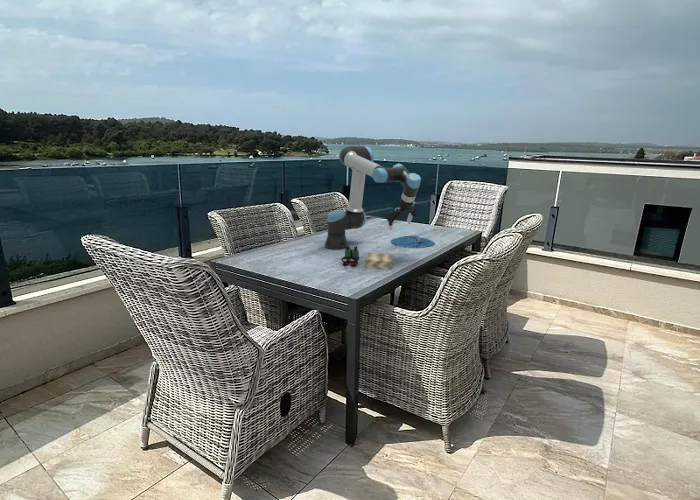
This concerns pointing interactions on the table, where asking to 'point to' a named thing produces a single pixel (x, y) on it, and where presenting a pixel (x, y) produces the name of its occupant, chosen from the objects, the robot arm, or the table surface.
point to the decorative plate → (412, 242)
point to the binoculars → (351, 256)
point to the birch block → (379, 261)
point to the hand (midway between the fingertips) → (399, 225)
